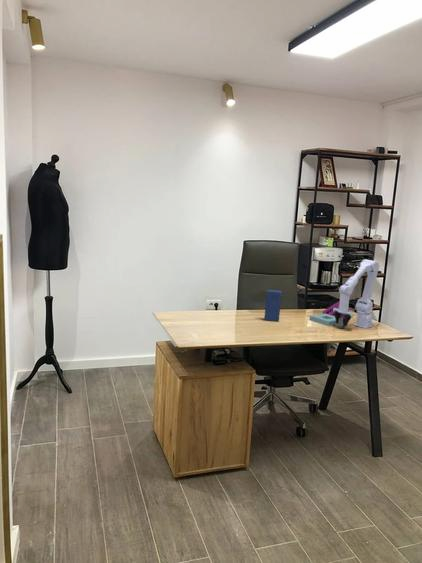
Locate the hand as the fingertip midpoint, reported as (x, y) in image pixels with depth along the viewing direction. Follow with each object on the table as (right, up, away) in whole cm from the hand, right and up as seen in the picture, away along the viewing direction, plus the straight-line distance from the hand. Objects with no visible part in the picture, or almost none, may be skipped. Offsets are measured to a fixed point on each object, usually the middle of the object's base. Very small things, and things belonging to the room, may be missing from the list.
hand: (341, 324), depth 297 cm
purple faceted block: (+4, +2, +32) cm, 33 cm away
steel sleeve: (0, -2, 0) cm, 2 cm away
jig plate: (-6, +1, +15) cm, 16 cm away
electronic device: (-44, +2, +8) cm, 45 cm away
